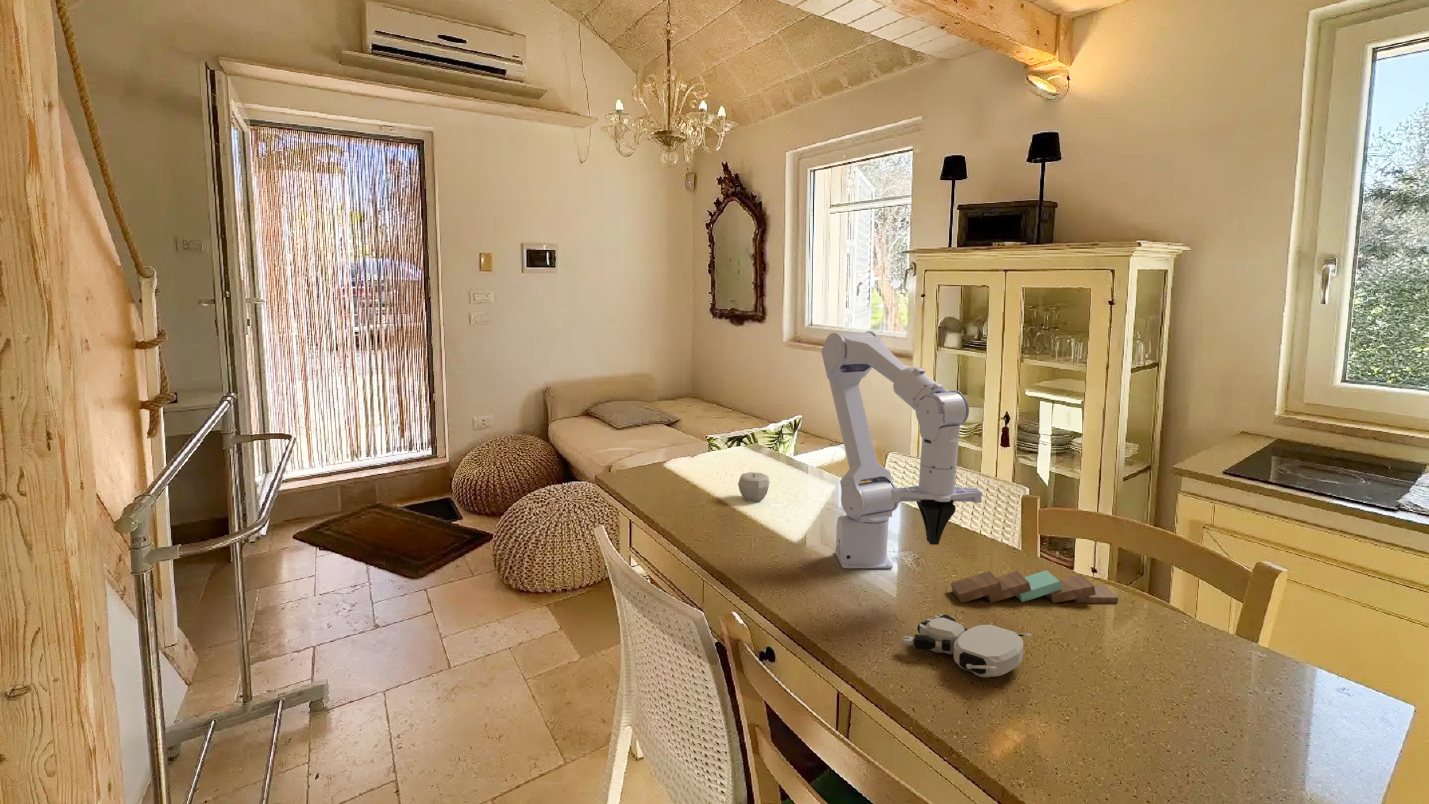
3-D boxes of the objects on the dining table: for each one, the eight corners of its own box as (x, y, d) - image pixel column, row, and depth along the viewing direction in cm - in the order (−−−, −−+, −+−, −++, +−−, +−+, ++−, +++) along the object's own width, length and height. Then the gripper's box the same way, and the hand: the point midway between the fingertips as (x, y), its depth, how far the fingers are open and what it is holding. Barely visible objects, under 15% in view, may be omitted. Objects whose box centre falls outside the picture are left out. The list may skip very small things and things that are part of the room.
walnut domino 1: (959, 594, 117) (1000, 582, 116) (950, 582, 121) (989, 570, 121) (962, 603, 117) (1002, 590, 117) (952, 591, 121) (991, 579, 121)
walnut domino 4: (1077, 597, 117) (1118, 597, 117) (1063, 585, 121) (1103, 585, 121) (1075, 606, 117) (1117, 606, 117) (1063, 593, 122) (1102, 593, 122)
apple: (731, 501, 167) (731, 474, 166) (747, 492, 174) (747, 467, 173) (760, 507, 163) (761, 480, 162) (775, 498, 170) (776, 472, 169)
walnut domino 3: (1051, 594, 117) (1094, 585, 116) (1040, 583, 121) (1081, 574, 120) (1053, 603, 117) (1095, 594, 116) (1042, 591, 121) (1083, 583, 121)
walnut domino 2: (988, 594, 117) (1029, 582, 116) (978, 582, 121) (1017, 571, 121) (990, 602, 117) (1031, 590, 117) (980, 591, 121) (1019, 579, 121)
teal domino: (1009, 590, 122) (1048, 578, 122) (1022, 602, 117) (1061, 589, 117) (1007, 582, 121) (1046, 570, 121) (1020, 593, 117) (1060, 581, 117)
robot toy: (897, 660, 101) (999, 697, 91) (896, 630, 101) (1000, 665, 90) (937, 629, 110) (1035, 660, 99) (937, 602, 109) (1036, 631, 99)
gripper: (901, 471, 111) (896, 551, 113) (992, 471, 111) (984, 551, 113) (889, 459, 117) (885, 535, 120) (974, 459, 118) (968, 535, 120)
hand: (932, 542), depth 117 cm, fingers closed
